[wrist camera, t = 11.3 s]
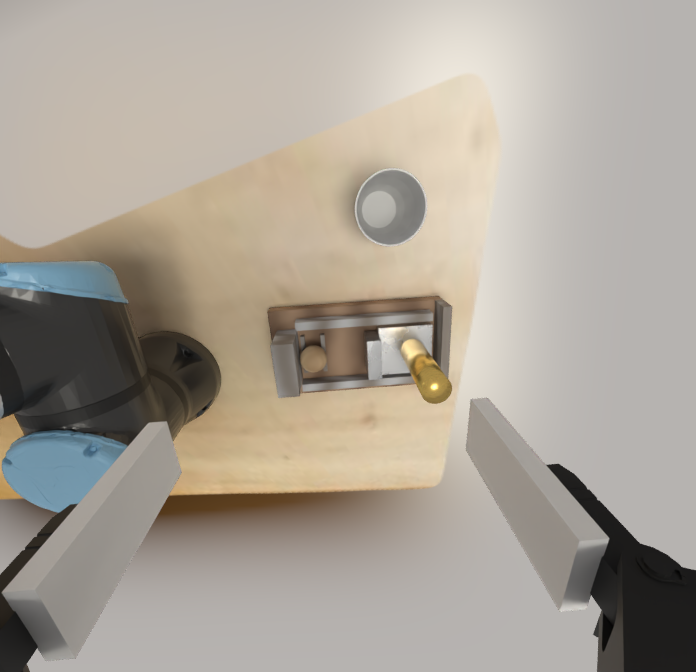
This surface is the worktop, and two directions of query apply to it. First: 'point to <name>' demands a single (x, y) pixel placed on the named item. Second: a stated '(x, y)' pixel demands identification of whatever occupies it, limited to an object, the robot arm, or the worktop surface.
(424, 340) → the lever
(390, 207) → the cup
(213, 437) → the worktop surface
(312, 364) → the nut
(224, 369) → the worktop surface
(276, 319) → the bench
